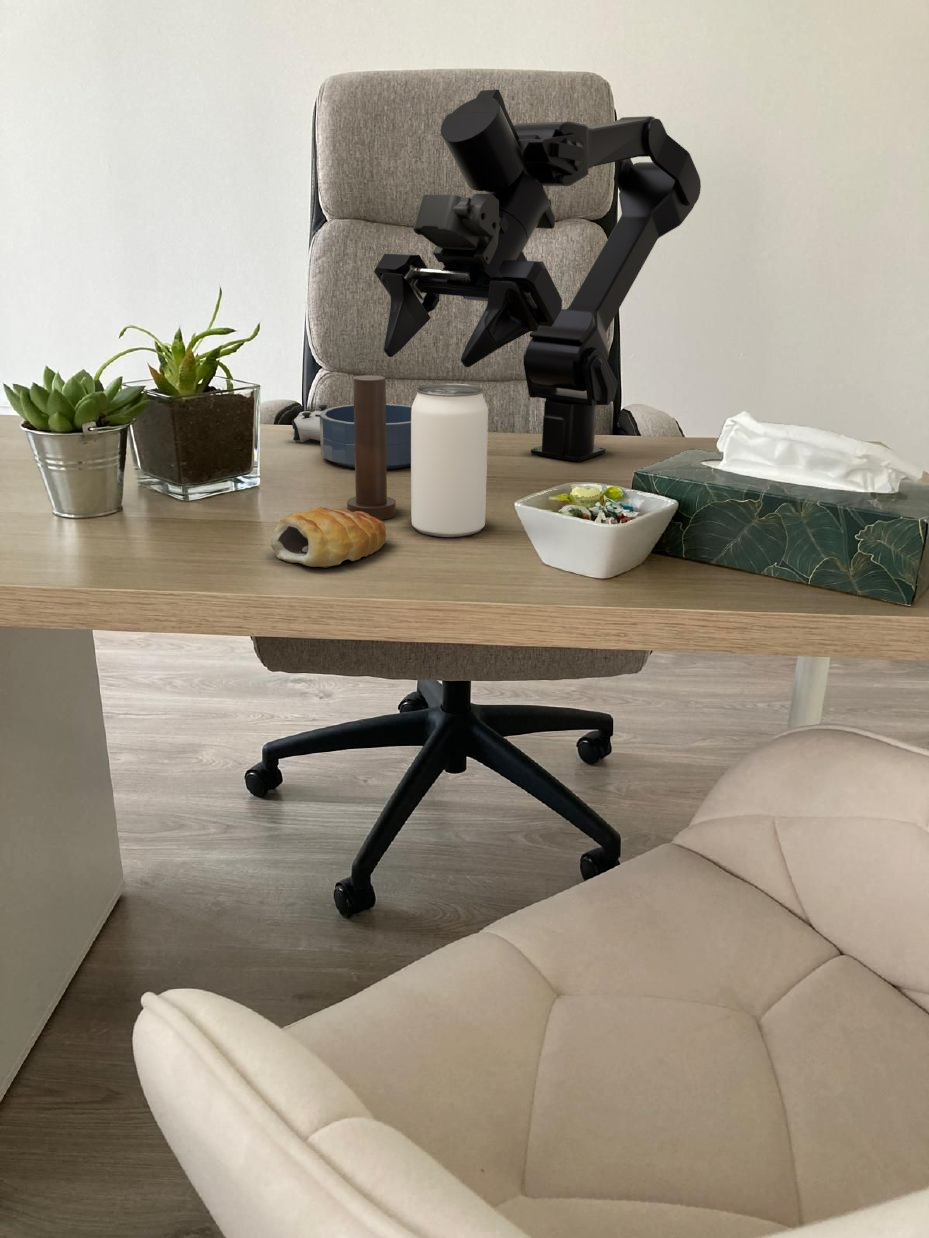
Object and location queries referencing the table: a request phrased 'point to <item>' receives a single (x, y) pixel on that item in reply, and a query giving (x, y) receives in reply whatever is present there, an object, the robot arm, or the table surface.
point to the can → (449, 460)
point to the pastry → (327, 536)
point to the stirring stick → (370, 448)
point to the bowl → (341, 435)
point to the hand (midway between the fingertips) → (424, 359)
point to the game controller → (307, 424)
